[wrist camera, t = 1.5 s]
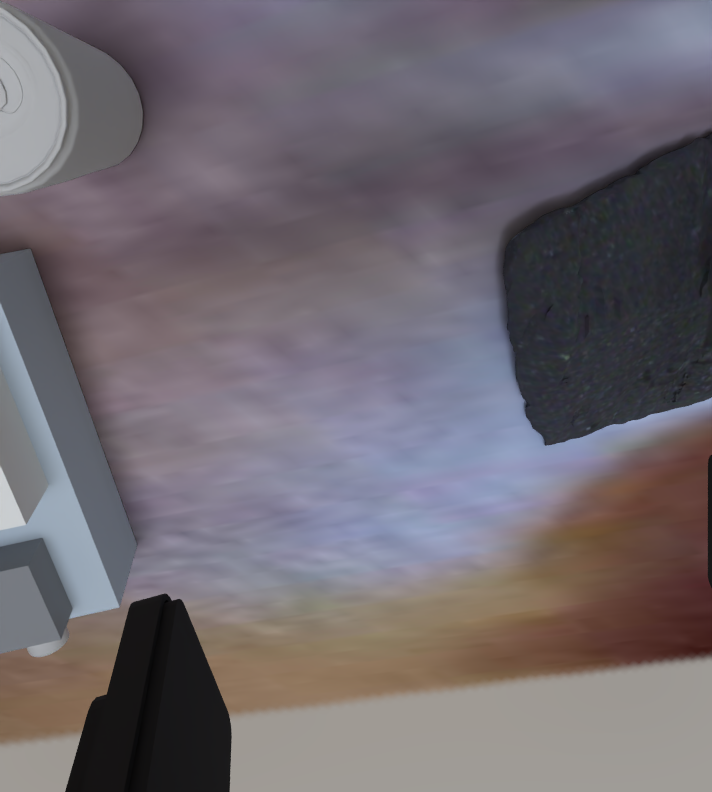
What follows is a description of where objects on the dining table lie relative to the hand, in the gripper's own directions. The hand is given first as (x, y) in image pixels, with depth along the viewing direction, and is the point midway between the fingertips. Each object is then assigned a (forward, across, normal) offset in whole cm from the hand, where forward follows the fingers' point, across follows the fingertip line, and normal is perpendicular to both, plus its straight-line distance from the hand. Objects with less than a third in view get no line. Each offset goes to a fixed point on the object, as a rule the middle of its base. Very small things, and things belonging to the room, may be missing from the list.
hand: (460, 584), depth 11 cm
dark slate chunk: (+23, -19, +4) cm, 30 cm away
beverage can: (+22, +8, -10) cm, 26 cm away
